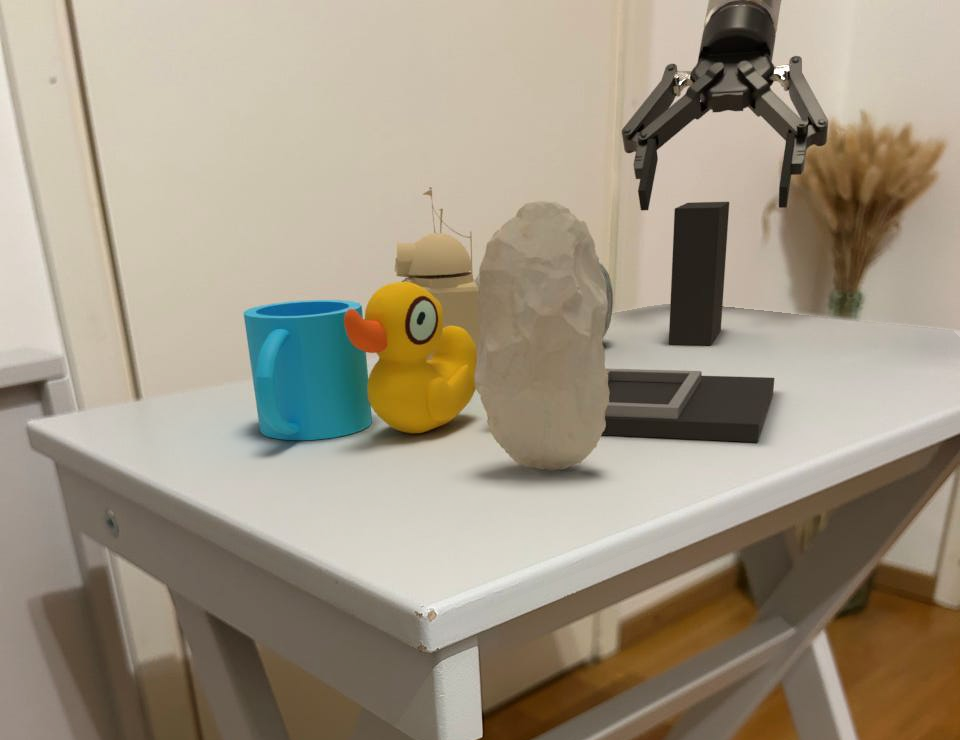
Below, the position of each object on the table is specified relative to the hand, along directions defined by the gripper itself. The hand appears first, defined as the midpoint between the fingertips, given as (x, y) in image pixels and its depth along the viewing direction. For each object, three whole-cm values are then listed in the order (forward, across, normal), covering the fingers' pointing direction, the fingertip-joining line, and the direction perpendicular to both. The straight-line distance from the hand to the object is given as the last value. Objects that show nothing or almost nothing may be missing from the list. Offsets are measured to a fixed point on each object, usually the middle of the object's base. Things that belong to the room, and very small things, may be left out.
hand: (711, 199), depth 98 cm
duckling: (+40, +14, +23) cm, 49 cm away
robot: (+29, +19, +12) cm, 37 cm away
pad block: (+13, 0, -4) cm, 14 cm away
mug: (+42, +22, +24) cm, 53 cm away
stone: (+45, +3, +28) cm, 53 cm away
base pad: (+34, 0, +18) cm, 39 cm away
